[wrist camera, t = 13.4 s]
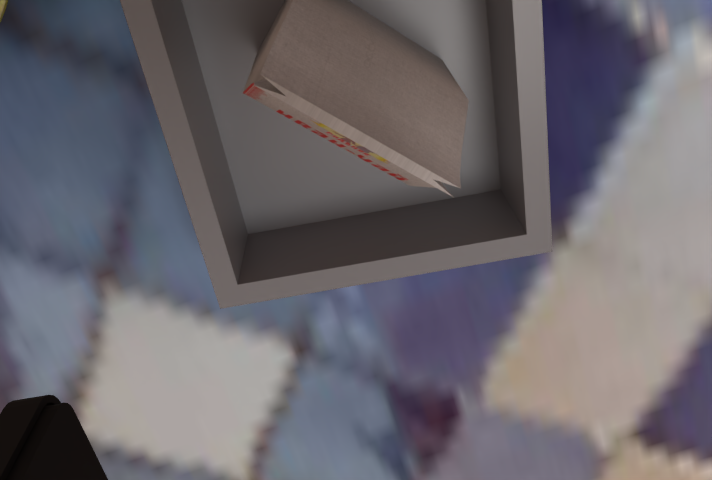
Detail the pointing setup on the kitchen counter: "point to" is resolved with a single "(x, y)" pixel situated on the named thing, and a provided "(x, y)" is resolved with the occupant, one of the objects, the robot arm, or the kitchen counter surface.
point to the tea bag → (363, 90)
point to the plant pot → (2, 8)
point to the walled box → (339, 167)
